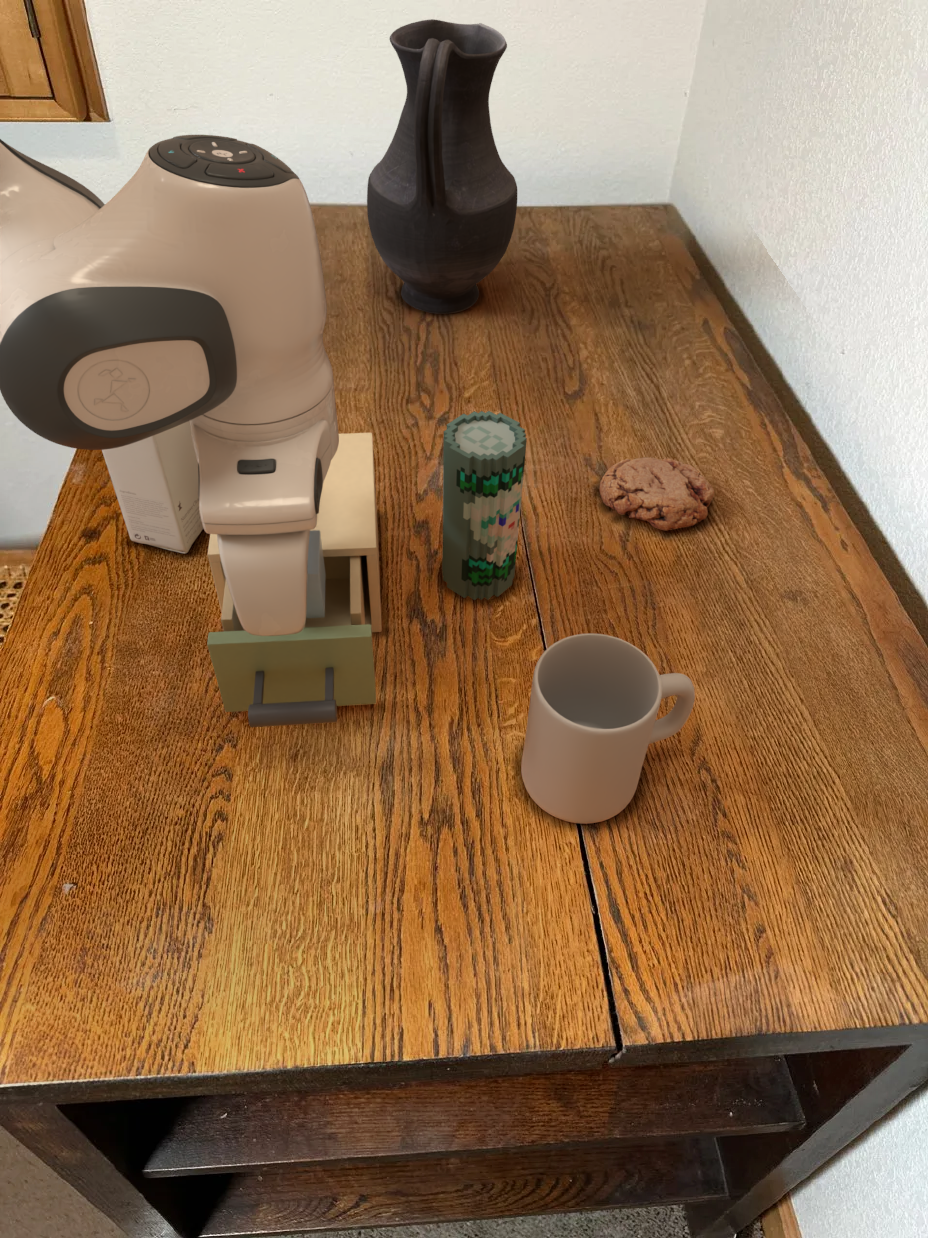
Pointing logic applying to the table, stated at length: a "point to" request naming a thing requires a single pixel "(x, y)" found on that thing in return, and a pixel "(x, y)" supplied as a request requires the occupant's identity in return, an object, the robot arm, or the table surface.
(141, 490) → the cosmetic box
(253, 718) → the drawer
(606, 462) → the table surface
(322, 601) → the block
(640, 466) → the cookie
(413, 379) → the table surface
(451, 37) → the pitcher
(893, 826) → the table surface
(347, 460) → the cabinet
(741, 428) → the table surface
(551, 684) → the mug
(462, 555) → the can
